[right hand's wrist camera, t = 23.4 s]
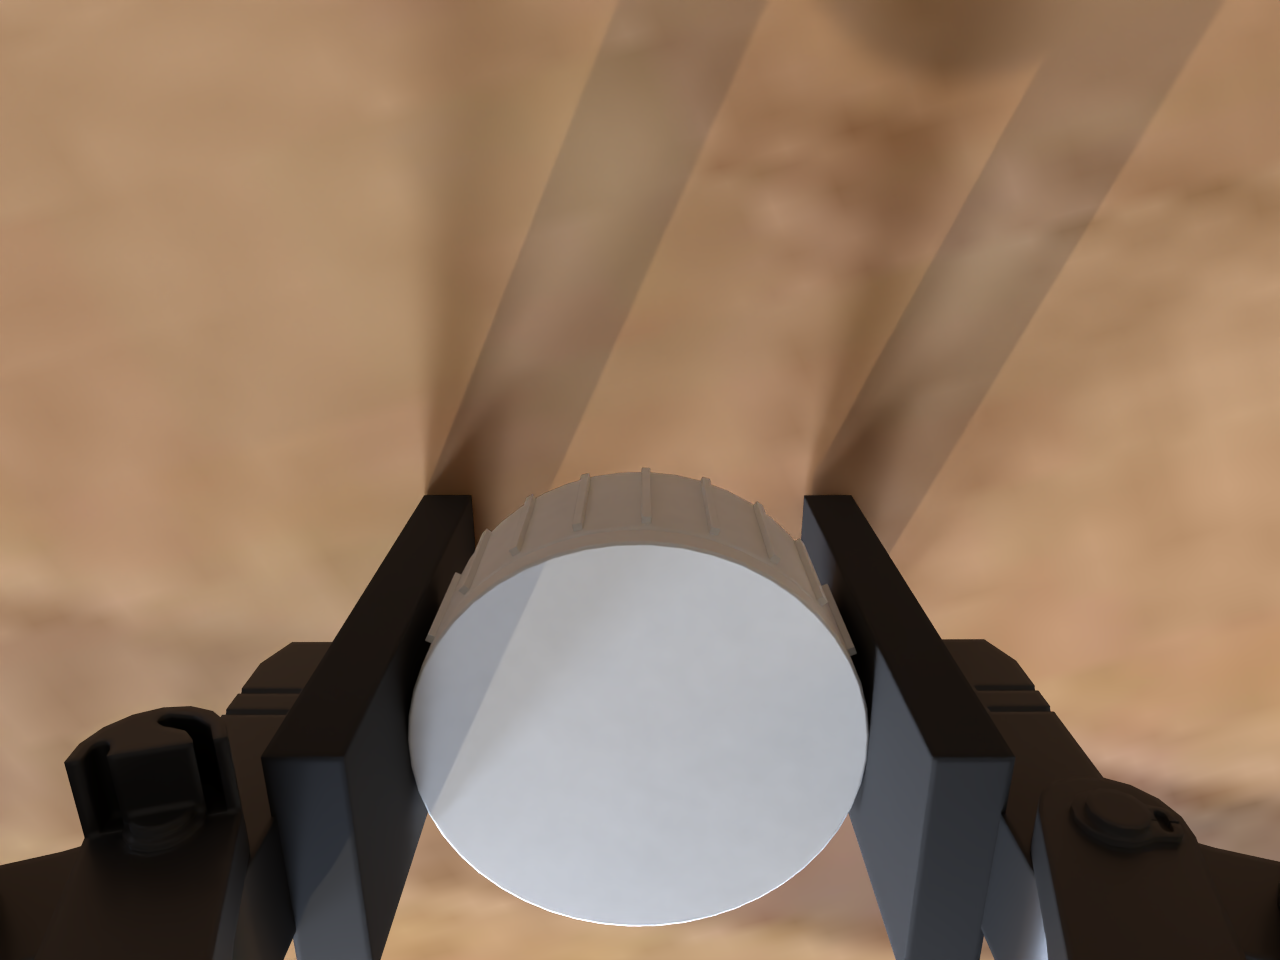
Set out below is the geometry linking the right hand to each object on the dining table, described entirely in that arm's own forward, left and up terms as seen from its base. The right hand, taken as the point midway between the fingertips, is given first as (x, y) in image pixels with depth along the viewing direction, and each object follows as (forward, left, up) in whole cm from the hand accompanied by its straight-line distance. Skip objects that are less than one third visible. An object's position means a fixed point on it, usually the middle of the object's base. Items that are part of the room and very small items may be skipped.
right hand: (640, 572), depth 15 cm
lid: (0, 0, +4) cm, 4 cm away
